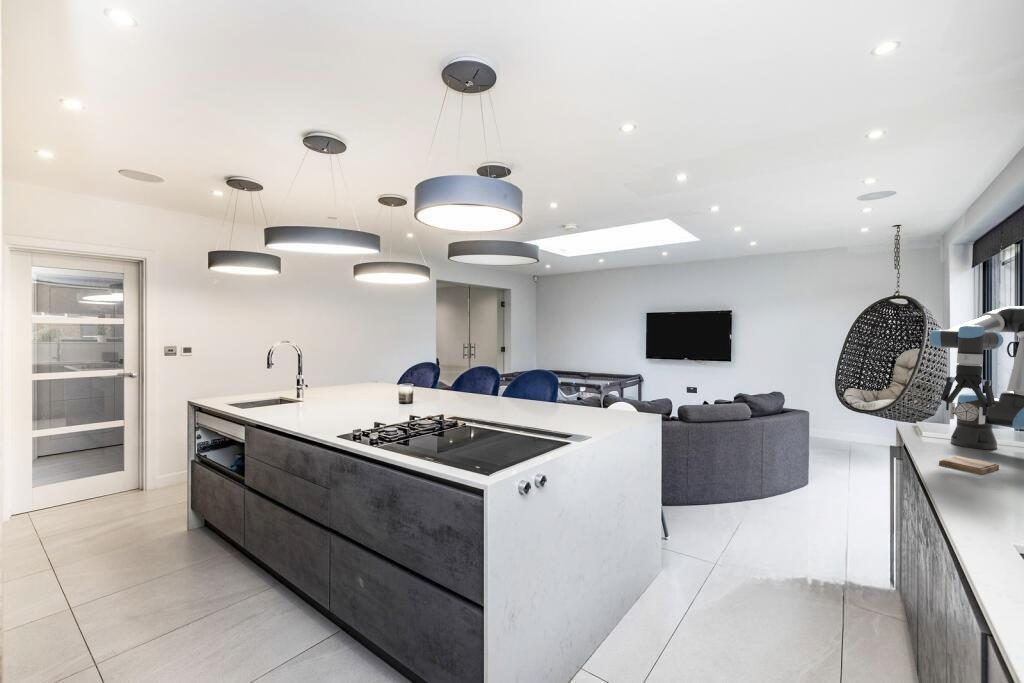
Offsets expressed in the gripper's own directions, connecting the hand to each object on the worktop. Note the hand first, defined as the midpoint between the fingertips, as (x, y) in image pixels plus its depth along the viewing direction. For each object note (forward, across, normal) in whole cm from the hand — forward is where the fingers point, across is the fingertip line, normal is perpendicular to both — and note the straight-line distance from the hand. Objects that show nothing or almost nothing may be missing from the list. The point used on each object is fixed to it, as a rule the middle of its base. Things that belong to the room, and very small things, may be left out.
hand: (966, 421), depth 196 cm
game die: (0, 0, 0) cm, 1 cm away
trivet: (+17, +4, -5) cm, 18 cm away
